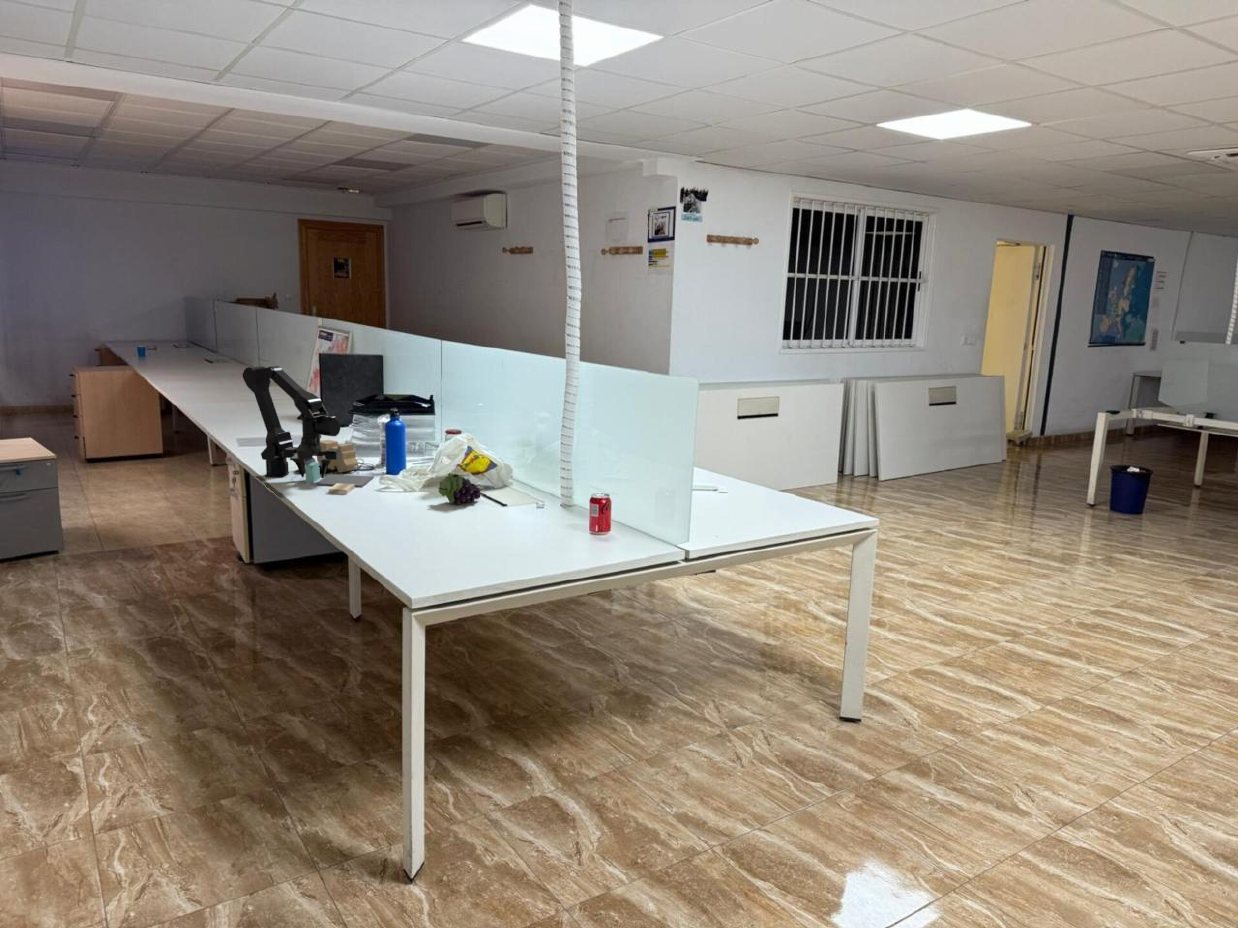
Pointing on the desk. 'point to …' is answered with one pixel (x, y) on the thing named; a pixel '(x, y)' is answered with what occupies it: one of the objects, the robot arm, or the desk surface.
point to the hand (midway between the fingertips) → (312, 477)
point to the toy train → (346, 459)
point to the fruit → (458, 489)
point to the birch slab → (341, 488)
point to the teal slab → (312, 472)
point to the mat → (345, 480)
